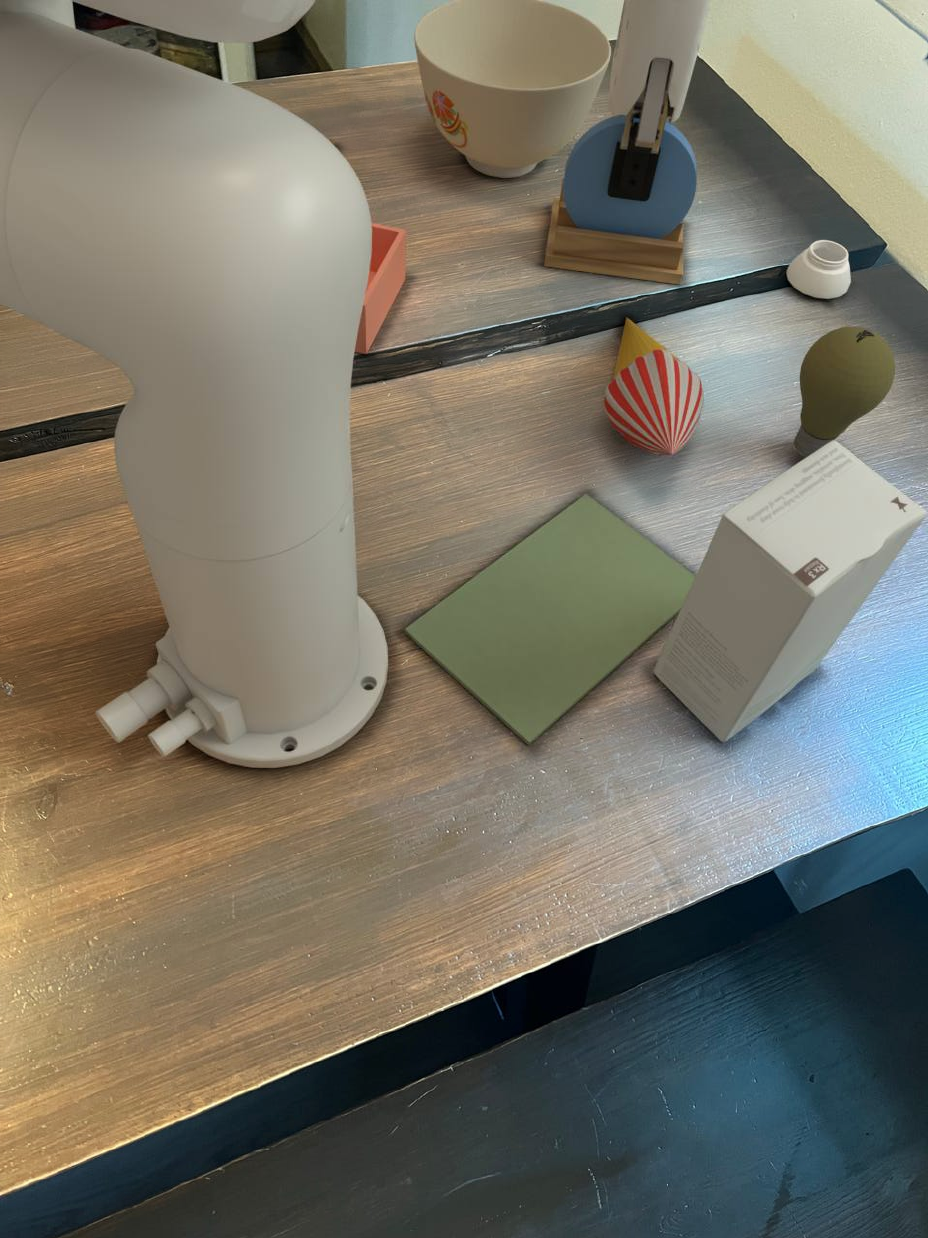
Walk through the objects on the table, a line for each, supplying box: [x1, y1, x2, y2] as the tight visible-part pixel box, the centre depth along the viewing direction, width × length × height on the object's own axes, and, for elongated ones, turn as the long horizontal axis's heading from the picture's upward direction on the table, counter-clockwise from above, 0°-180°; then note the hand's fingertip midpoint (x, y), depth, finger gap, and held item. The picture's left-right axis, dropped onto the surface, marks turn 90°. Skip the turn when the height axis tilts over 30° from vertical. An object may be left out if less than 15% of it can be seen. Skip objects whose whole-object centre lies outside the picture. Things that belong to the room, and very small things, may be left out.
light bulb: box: [793, 326, 896, 459], centre depth 63 cm, size 6×6×10 cm
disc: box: [563, 114, 698, 239], centre depth 73 cm, size 1×10×10 cm, turn 83°
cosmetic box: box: [652, 440, 928, 743], centre depth 49 cm, size 8×6×15 cm
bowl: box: [413, 0, 612, 179], centre depth 82 cm, size 16×16×10 cm
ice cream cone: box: [603, 316, 705, 456], centre depth 67 cm, size 6×6×20 cm
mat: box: [404, 493, 696, 746], centre depth 57 cm, size 16×10×1 cm, turn 135°
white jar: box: [786, 239, 852, 300], centre depth 77 cm, size 5×3×5 cm
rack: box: [543, 177, 684, 285], centre depth 78 cm, size 8×11×3 cm
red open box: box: [354, 222, 407, 355], centre depth 69 cm, size 18×10×10 cm, turn 75°
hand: (628, 187), depth 73 cm, fingers closed on disc, 1 cm apart
